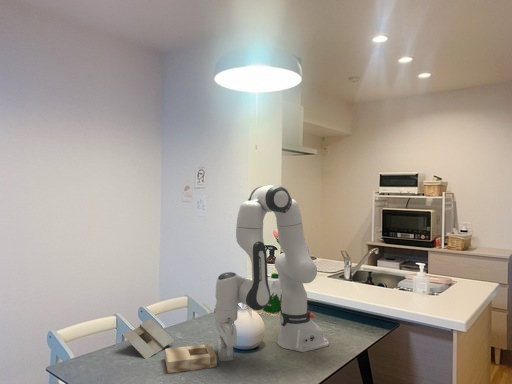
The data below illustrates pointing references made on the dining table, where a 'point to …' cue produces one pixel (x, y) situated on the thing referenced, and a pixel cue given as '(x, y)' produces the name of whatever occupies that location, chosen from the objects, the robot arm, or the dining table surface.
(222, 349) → the metal bracket bar
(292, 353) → the dining table surface
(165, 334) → the beige slotted box
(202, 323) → the dining table surface
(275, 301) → the milk carton
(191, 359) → the oak well block
